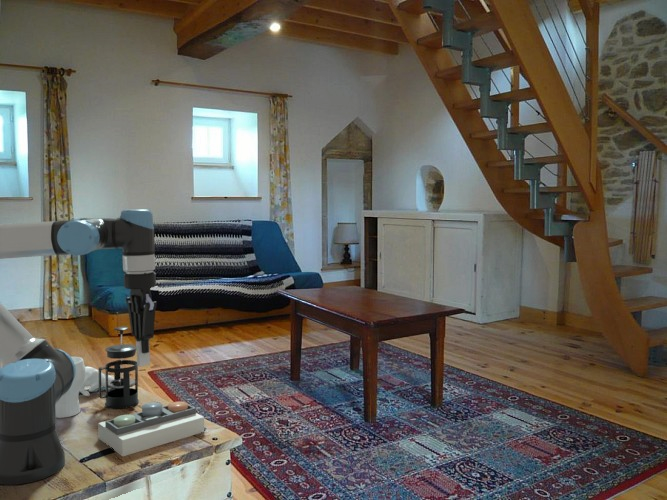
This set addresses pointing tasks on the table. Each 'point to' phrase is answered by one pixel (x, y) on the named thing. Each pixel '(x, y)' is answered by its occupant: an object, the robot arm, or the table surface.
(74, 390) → the cup
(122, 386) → the french press
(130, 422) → the button sage
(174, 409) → the button terracotta
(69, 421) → the table surface
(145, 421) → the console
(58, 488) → the table surface
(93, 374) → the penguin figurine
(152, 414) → the button slate
